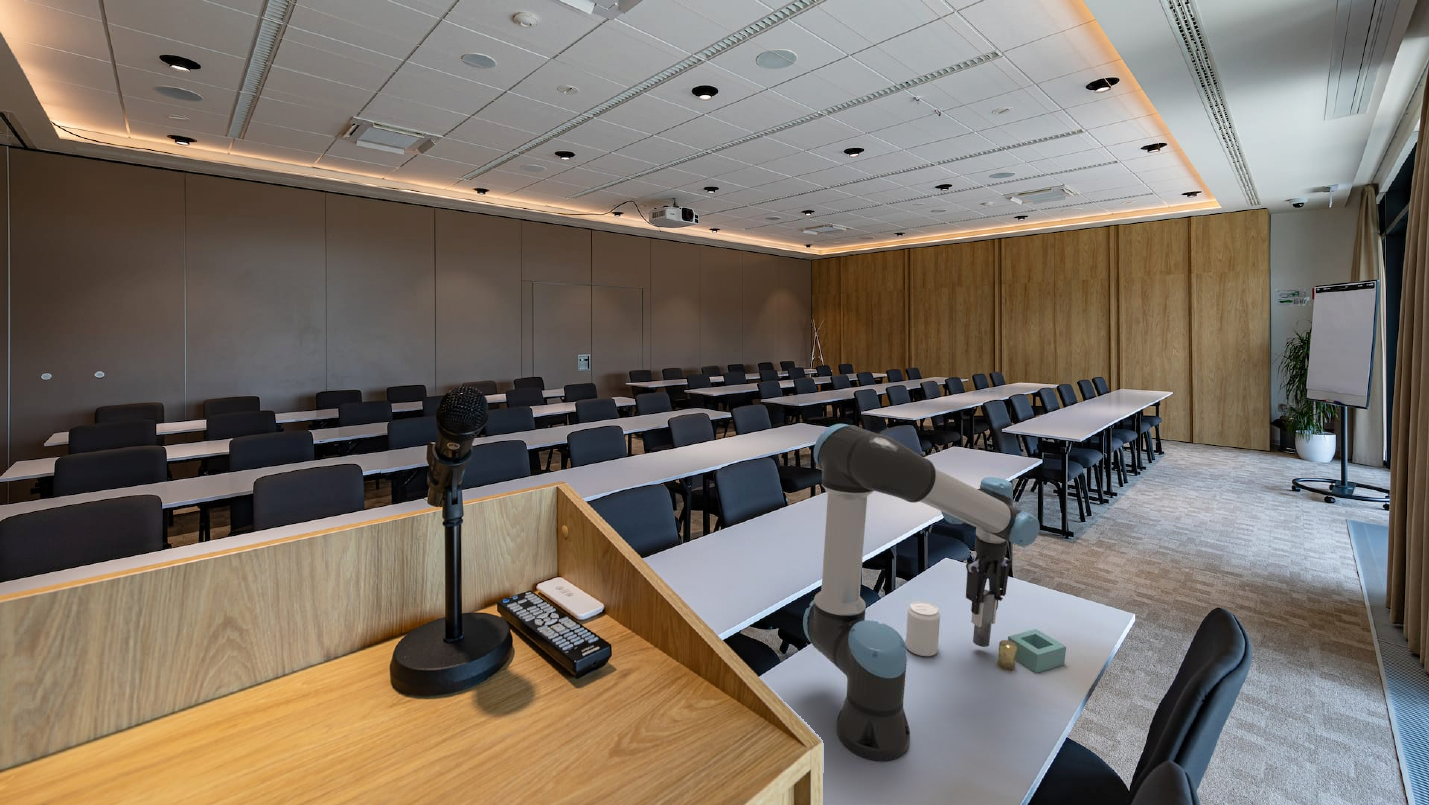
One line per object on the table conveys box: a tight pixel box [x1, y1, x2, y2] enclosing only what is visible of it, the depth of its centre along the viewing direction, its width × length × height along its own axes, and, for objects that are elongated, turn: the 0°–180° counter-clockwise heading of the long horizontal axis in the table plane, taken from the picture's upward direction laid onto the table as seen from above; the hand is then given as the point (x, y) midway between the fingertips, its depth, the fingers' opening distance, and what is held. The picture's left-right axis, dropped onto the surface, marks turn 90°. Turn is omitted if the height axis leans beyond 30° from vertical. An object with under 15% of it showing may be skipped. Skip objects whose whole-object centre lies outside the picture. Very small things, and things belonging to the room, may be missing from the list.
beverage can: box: [905, 600, 941, 657], centre depth 161 cm, size 8×8×12 cm
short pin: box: [997, 639, 1017, 672], centre depth 154 cm, size 4×4×6 cm
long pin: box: [972, 589, 994, 648], centre depth 159 cm, size 4×4×14 cm
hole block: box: [1007, 628, 1067, 674], centre depth 157 cm, size 10×9×5 cm
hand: (983, 622), depth 159 cm, fingers closed on long pin, 4 cm apart
